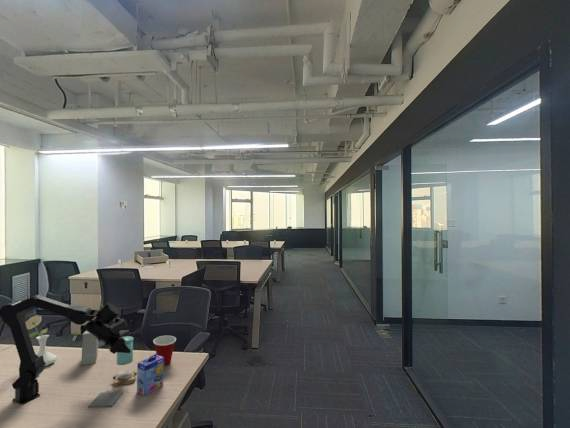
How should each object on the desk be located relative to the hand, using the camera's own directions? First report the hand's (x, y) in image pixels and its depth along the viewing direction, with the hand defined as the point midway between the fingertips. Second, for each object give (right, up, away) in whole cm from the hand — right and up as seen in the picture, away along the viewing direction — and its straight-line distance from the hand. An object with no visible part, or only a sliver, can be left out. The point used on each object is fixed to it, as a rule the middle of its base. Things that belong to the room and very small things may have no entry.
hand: (128, 349), depth 139 cm
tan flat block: (-1, -13, -1) cm, 13 cm away
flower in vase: (-50, -14, +14) cm, 54 cm away
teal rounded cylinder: (-1, -5, -1) cm, 5 cm away
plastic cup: (+11, -14, +15) cm, 23 cm away
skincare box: (-28, -14, +18) cm, 36 cm away
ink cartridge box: (+13, -14, -7) cm, 20 cm away
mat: (-1, -13, -16) cm, 21 cm away
